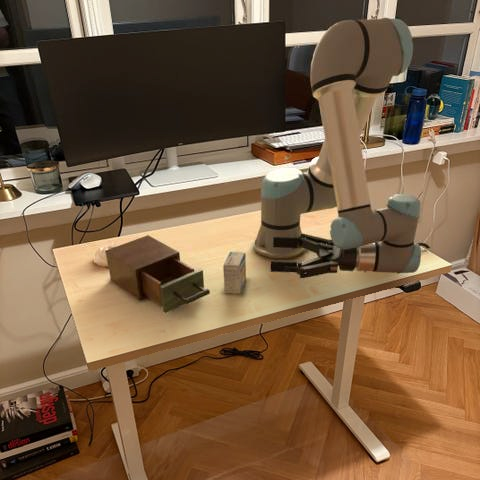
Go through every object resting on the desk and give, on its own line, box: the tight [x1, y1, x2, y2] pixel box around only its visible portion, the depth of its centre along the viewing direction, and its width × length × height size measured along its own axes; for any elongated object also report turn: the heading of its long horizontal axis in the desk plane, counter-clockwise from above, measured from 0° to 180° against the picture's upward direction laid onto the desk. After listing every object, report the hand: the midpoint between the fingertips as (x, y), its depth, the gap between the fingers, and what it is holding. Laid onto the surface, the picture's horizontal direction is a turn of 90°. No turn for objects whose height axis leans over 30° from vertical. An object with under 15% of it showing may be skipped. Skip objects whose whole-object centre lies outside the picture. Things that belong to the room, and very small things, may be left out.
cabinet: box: [105, 234, 181, 302], centre depth 133 cm, size 15×14×9 cm
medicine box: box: [222, 251, 247, 295], centre depth 130 cm, size 8×4×9 cm, turn 168°
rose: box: [93, 245, 117, 268], centre depth 145 cm, size 10×4×10 cm
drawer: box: [139, 257, 211, 314], centre depth 125 cm, size 20×13×7 cm, turn 43°
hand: (271, 253), depth 126 cm, fingers open, 13 cm apart
